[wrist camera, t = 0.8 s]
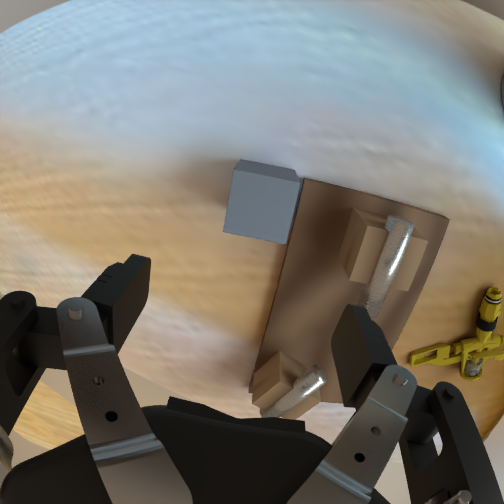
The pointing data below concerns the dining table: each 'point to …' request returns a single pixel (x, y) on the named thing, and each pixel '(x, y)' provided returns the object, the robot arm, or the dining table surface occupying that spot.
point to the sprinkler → (470, 342)
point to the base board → (336, 285)
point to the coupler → (261, 201)
